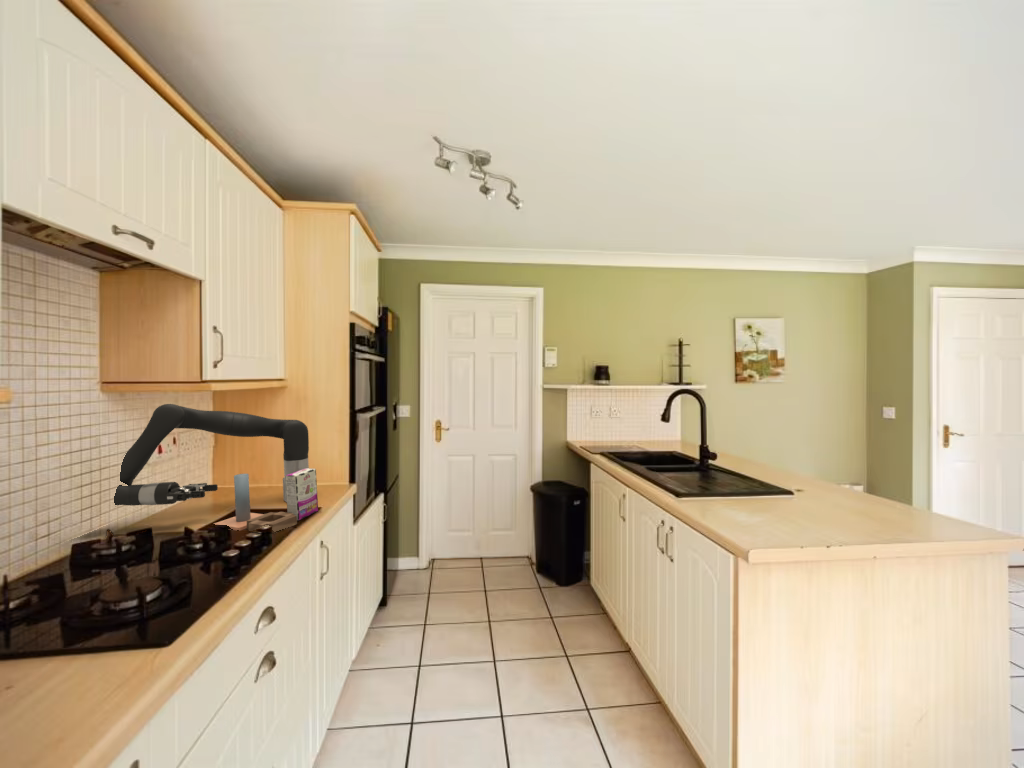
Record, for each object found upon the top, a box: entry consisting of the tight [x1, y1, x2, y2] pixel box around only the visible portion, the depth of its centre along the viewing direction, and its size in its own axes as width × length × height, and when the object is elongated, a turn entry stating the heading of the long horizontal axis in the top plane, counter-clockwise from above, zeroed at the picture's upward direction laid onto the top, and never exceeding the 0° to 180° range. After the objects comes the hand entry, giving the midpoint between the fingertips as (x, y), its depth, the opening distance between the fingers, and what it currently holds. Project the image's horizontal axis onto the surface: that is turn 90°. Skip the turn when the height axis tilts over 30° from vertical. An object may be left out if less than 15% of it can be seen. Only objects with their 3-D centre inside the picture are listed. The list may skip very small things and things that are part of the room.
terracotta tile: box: [213, 512, 265, 532], centre depth 158 cm, size 13×13×1 cm
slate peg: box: [233, 473, 251, 522], centre depth 157 cm, size 4×4×16 cm
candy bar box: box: [285, 467, 319, 521], centre depth 164 cm, size 11×5×16 cm, turn 168°
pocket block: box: [246, 511, 298, 533], centre depth 152 cm, size 12×12×3 cm
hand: (210, 490), depth 156 cm, fingers open, 8 cm apart
